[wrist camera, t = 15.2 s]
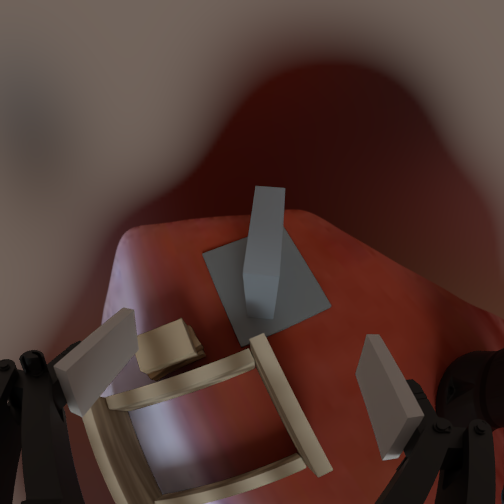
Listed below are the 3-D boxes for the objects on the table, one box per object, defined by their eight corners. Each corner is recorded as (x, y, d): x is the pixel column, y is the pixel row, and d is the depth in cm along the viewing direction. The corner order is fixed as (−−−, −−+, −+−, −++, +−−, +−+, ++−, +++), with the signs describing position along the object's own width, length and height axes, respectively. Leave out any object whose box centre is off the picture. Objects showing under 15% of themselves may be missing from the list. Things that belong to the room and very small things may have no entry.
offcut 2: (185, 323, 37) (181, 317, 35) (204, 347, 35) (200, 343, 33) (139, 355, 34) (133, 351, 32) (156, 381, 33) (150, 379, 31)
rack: (262, 352, 36) (263, 332, 28) (314, 456, 28) (333, 469, 20) (115, 403, 32) (76, 396, 24) (157, 505, 24) (128, 526, 15)
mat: (281, 226, 48) (282, 224, 47) (330, 307, 40) (331, 305, 39) (202, 255, 45) (202, 253, 44) (241, 347, 37) (241, 346, 36)
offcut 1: (185, 324, 34) (181, 318, 32) (198, 355, 32) (194, 351, 30) (137, 343, 33) (130, 338, 31) (147, 374, 31) (140, 371, 29)
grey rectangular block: (279, 246, 45) (285, 188, 34) (273, 319, 38) (279, 276, 27) (256, 244, 45) (255, 185, 34) (247, 316, 39) (242, 273, 28)
